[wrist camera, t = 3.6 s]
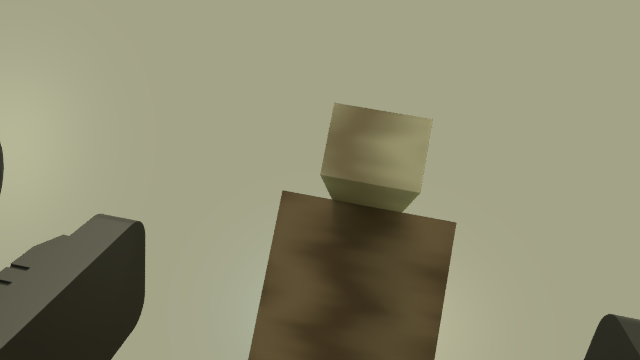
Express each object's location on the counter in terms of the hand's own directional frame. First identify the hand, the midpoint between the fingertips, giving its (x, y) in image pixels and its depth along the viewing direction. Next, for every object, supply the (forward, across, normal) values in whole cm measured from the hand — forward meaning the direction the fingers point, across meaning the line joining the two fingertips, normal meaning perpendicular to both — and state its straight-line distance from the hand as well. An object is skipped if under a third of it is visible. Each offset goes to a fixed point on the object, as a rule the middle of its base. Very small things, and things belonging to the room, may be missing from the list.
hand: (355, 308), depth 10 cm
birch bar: (+20, 0, +8) cm, 22 cm away
